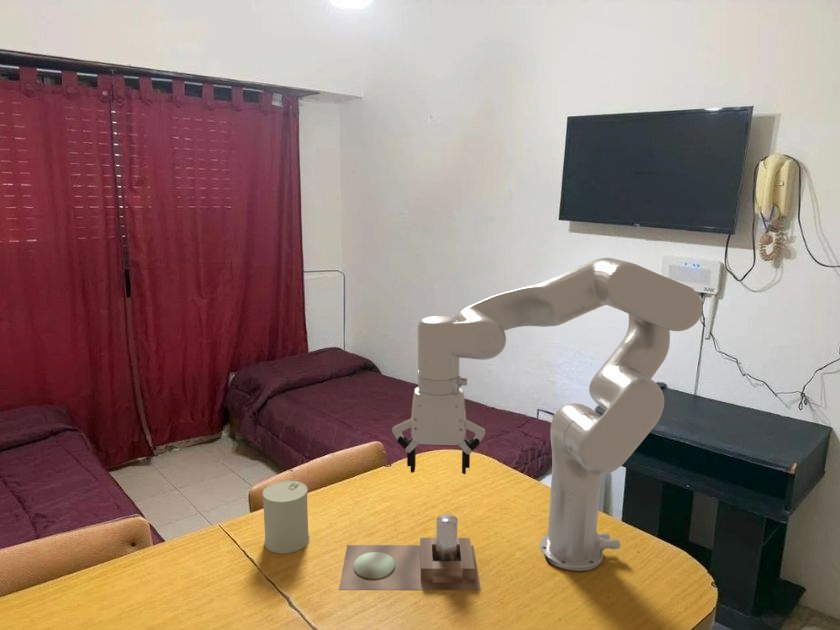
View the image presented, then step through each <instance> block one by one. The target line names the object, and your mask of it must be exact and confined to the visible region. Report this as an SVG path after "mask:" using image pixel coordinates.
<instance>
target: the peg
mask: <svg viewBox="0 0 840 630" xmlns="http://www.w3.org/2000/svg"><path fill="white" fill-rule="evenodd" d="M458 522H459V521H458V517H456V516H455V515H453V514H449V513H444V514H441V515H439V516H437V517H436V537H435V538H436V561H457V538H458Z"/></svg>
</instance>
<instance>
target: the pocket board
mask: <svg viewBox="0 0 840 630" xmlns="http://www.w3.org/2000/svg"><path fill="white" fill-rule="evenodd" d="M475 554H476V553H475V548H474V545H472V544H471V538H470V537H457V561H436V537H419V545H418V544H416V545H415V544H413V545H412V544H411V545H410V544H406V545H405V544H403V545H402V544H401V545H400V544H399V545H397V544H396V545H395V544H394V545H393V544H388V545H387V544H383V545H382V544H377V545H376V544H347V545H346V549H345V555H344V559H343V560H344V561H343V566H342V572H341V577H340V582H339V587H338V588H339V589H338V590H339V591H347V590H348V591H354V590H355V591H481V585H480V578H479V572H478V566H477V561H476V555H475Z"/></svg>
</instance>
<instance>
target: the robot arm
mask: <svg viewBox="0 0 840 630" xmlns="http://www.w3.org/2000/svg"><path fill="white" fill-rule="evenodd" d="M703 305H704V304H703V300H702V298H701V296H700V294H699V293H698V292H697V291H696V290H695V289H694V288H693V287H691V286H689V285H687V284H684V283H681V282H679V281H676V280H674V279H672V278H669V277H667V276H665V275H662V274H659V273H657V272H654V271H652V270H650V269H647V268H645V267H644V266H642V265H639V264H636V263H634V262H630V261H626V260H621V259H616V258H612V257H600V258H597V259H593V260H591V261H589V262H586V263H584V264H581V265H579V266H577V267H575V268H572V269H570V270H568V271H566V272H563V273H561V274H559V275H556V276H554V277H552V278H549V279H547V280H544V281H542V282H540V283H537V284H534V285H533V284H532V285H529V286H525V287H524V286H523V287H521V288H517V289H514V290H510V291H506V292H502V293H499V294H498V293H497V294H496V295H493V296H489V297H487V298H485V299H483V300H481V301H478V302H476V303H474V304H471V305H469V306H467V307H464V308H463V309H462V310H460V311H459V312H457V314H456V315H455V317H452V316H448V315H447V316H446V315H432V316H427V317H424V318H422V319H421V320H420V321H419V322H418V325H417V374H418V375H417V385H418V386H417V387H415V388H414V391H413V397H412V405H411V417H410V418H409V419H406V420H403V421H402V422H400V423H398V424H396V425H394V426H392V429H391V432H392V434H393V436H394V437H395V439H396V440H397V442H396V443H397V444H399V445H400V447H402V448H403V450H404V451H405V452H406V463H407V464H406V465H407V467H410V473H411V474H412V473H415V472H416V471H415V470H416V464H417V463H416V461H417V460H416V452H417V451H416V447H417V446H418V445H433V446H435V445H440V446H441V445H443V446H445V445H446V446H459V448H460V449H461V455H462V456H461V474H463V475H466V474H467V470H466V469H470V465H471V461H470V460H471V457H470V456H471V454H472V451H474V450H475V449H476V448H478V446H480V443H481V442H482V440H483V438H484V436H485V435H486V429H485V428H484V427H482V426H480V425H478V424H476V423H474V422H472V421H470V420H468V419H467V418H466V417H467V416H466V415H467V413H466V400H465V393H464V390H463V388H461V387H463V386H468V378H467V377H462V376H461V375H460V359H470V360H480V361H481V360H490V359H491V360H492V359H494V358H495V357H498V356H499V355H500V354H501V353H502V351H504V349H505V347H506V342H507V337H506V333H505V332H506V331H508V330H511V329H516V328H521V327H522V328H523V327H542V328H544V327H545V328H547V327H557V326H560V325H563V324H565V323H567V322H570V321H571V320H574V319H576V318H578V317H581V316H583V315H585V314H587V313H589V312H592V311H595V310H596V309H599V308H602V307H604V306H609V307H611V308H614V309H616V310H619V311H622V312H624V313H625V314H628V327H627V331H626V334H625V336H624V337H623V339H622V341H620V343H619V344H618V346H617V348H615V350H614V351H613V352H612V354H611V355H609V357H608V358H607V359H606V361H604V363H603V364H602V366H601V367H600V368H599V369H598V371H597V372H596V373H595V374H594V376H593V377H592V379H591V381H590V383H589V389H588V390H589V395H590V398H591V399H592V400H593V401H594V402H595V404H597V405H598V406H599V407H600V408H601V409H602V410H604V413H603V414H602V415H601V414H599V413H597V412H596V411H595V410H593V409H592V408H590V407H589V406H587V405H584V404H581V403H576V402H575V403H569V404H565V405H563V406H561V407H560V408H559V409H558V410H557V411H556V412H555V413H554V415H553V417H552V420H551V423H550V444H551V456H552V457H551V458H552V463H551V464H552V466H551V483H550V496H549V497H550V498H549V499H550V500H549V515H548V516H549V517H548V531H547V534H546V535H544V536H543V537H542V538H541V539H540V541H539V549H540V552H541V553H542V554H543V556H544V559H545V560H546V561H547V562H549V564H551V565H553V566H555V567H558V568H560V569H564V570H567V571H574V572H584V571H585V572H586V571H590V570H593V569H596V568H597V567H598V566H599V565H601V564H602V561H603V560H604V559H603V557H604V551H605V549H607V550H608V549H609V550H620V549H621V542H620V539H619V538H611V536H610V533H598V518H599V509H600V508H599V506H600V492H601V484H602V476H605V475H610V474H612V473H614V472H615V471H617V470H619V468H621V466H623V465H624V464H625V463H626V461H627V460H628V459H629V458H630V457H631V456H632V455H633V453H634V452H635V451H636V450H637V449H638V447H639V446H640V445H641V444H642V442H643V441H644V440H645V439H646V438H647V436H648V435H649V434H650V432H651V431H652V430H653V429H654V428H655V426H656V425H657V424H658V423H659V420H660V418H661V416H662V414H663V411H664V408H665V396H664V393H663V390H662V388H661V387H660V386H659V384H658V383H656V382H655V381H654V380H653V377H654V376H655V374H656V373H657V371H658V370H659V368H661V366H662V365H663V363H664V362H665V360H666V358H667V355H668V353H669V349H670V342H671V334H670V333H671V332H683V331H687V330H689V329H692V327H694V326H695V325H696V324H697V323H698V322H699V320H700V318H701V316H702V314H703V309H704V307H703ZM670 331H671V332H670ZM408 429H410V436H411V437H410V438H409V439H408V438H407V437H406V436H405V435H404V434H403V432H404V431H406V430H408ZM466 430H469V431H470V432H472V433H474V434H475V435H474V437H473V438H471V439H470V440H468V439H467V438H466V434H467V431H466Z"/></svg>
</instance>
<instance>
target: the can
mask: <svg viewBox="0 0 840 630" xmlns="http://www.w3.org/2000/svg"><path fill="white" fill-rule="evenodd" d="M261 495H262V501H263V503H262V504H263V518H264V520H263V521H264V522H263V523H264V547H265V549H267V550H268V551H269V552H271V553H274V554H281V555H282V554H283V555H284V554H291V553H296V552H298V551H300V550H302V549H303V548H305V547H306V546H307V545H308V544H309V541H310V535H309V518H308V517H309V516H308V515H309V514H308V513H309V511H308V486H307V485H306V484H304V483H303V482H300V481H297V480H281V481H277V482H274V483H271V484H269V485H268V486H266V487H265V488H264V489H263V491H262V494H261Z"/></svg>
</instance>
